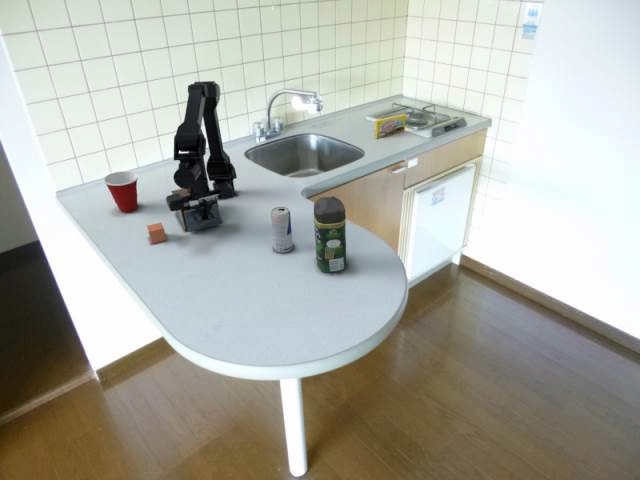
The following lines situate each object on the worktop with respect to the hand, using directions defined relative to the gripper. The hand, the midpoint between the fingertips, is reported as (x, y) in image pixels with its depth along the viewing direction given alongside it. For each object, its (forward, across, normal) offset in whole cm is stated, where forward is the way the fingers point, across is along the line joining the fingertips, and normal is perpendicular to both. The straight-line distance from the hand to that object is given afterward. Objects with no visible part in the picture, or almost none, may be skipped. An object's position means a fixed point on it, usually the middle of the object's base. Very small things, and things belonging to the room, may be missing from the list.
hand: (205, 222), depth 140 cm
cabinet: (+4, 0, -12) cm, 12 cm away
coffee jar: (+4, -25, +33) cm, 42 cm away
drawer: (+3, 0, -6) cm, 7 cm away
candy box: (+4, -97, -46) cm, 108 cm away
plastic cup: (+4, +19, -30) cm, 36 cm away
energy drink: (+4, -17, +20) cm, 26 cm away
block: (+4, +14, -4) cm, 15 cm away
